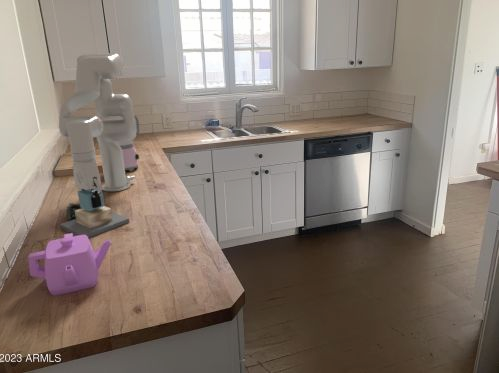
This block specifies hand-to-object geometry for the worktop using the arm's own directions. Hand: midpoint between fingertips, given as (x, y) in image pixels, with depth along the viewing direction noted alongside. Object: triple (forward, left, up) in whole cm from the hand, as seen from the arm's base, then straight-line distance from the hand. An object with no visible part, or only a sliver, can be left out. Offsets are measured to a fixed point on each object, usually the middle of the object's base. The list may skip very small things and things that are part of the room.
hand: (92, 204), depth 141 cm
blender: (-51, -54, -8) cm, 75 cm away
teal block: (0, 0, -1) cm, 1 cm away
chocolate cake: (-1, -12, -8) cm, 15 cm away
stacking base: (0, 0, -8) cm, 8 cm away
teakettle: (+23, +30, -8) cm, 39 cm away
